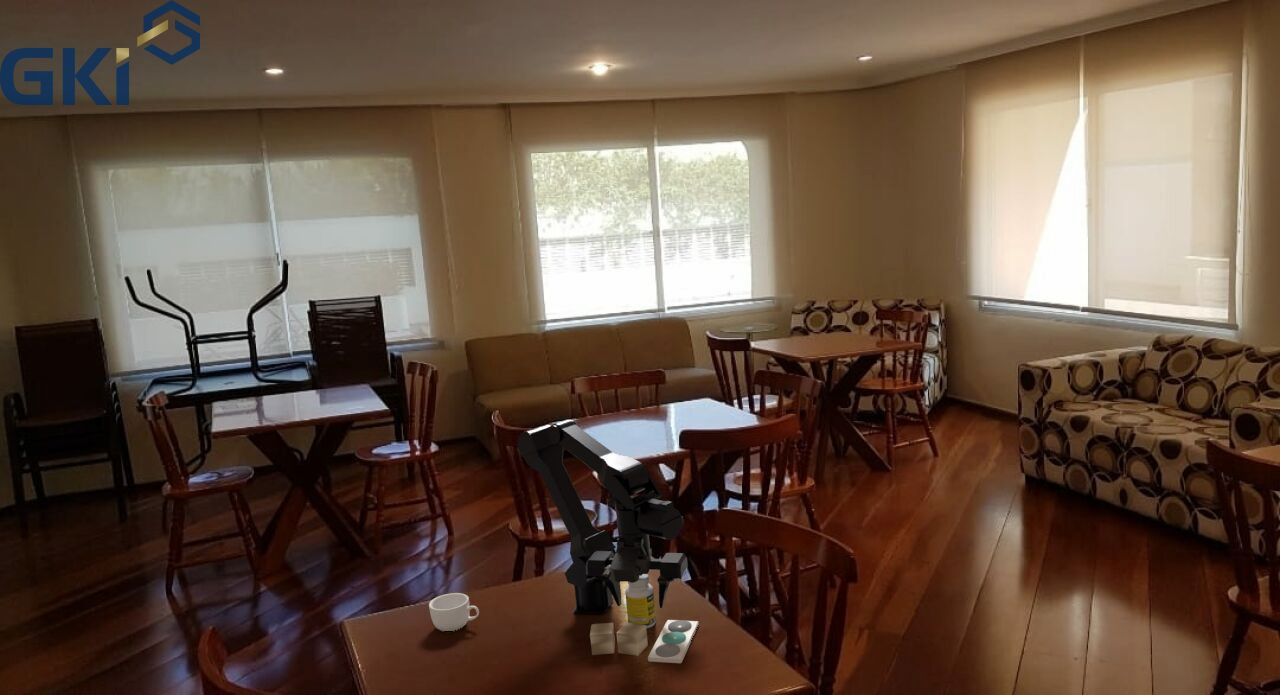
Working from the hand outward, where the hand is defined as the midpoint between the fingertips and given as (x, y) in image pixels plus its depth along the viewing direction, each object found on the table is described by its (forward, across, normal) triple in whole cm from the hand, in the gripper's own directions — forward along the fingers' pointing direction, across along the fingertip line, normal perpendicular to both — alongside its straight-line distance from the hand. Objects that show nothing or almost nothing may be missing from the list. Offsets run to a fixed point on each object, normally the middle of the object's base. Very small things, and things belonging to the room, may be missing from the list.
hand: (640, 606), depth 173 cm
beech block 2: (+4, +1, -10) cm, 10 cm away
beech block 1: (+4, -4, -10) cm, 12 cm away
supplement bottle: (+4, 0, 0) cm, 4 cm away
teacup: (+4, -37, -5) cm, 38 cm away
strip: (+4, +8, -6) cm, 11 cm away
